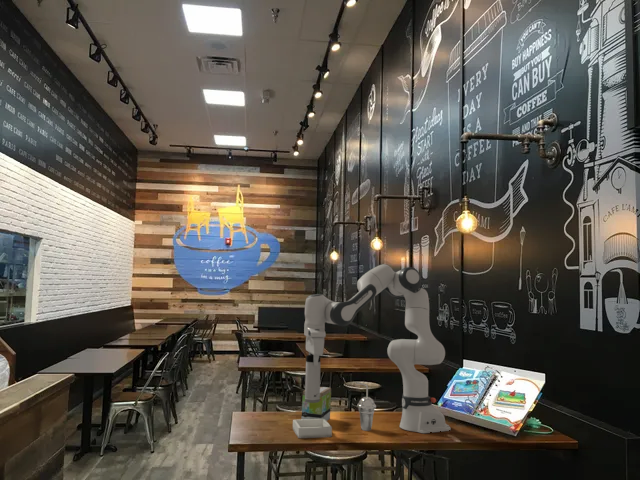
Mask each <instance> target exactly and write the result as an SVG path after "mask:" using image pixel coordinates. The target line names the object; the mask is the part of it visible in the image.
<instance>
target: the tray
mask: <svg viewBox="0 0 640 480" xmlns="http://www.w3.org/2000/svg"><path fill="white" fill-rule="evenodd" d="M292 430H293V432H294V433H295V435H296V437H297V439H313V438H314V439H316V438H317V439H319V438H320V439H321V438H332V437H333V436H332V435H333V433H332V432H333V426H332V425H330V423H329V422H328V420H327V421H326V420H325V419H300V418H299V419H292Z"/></svg>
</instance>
